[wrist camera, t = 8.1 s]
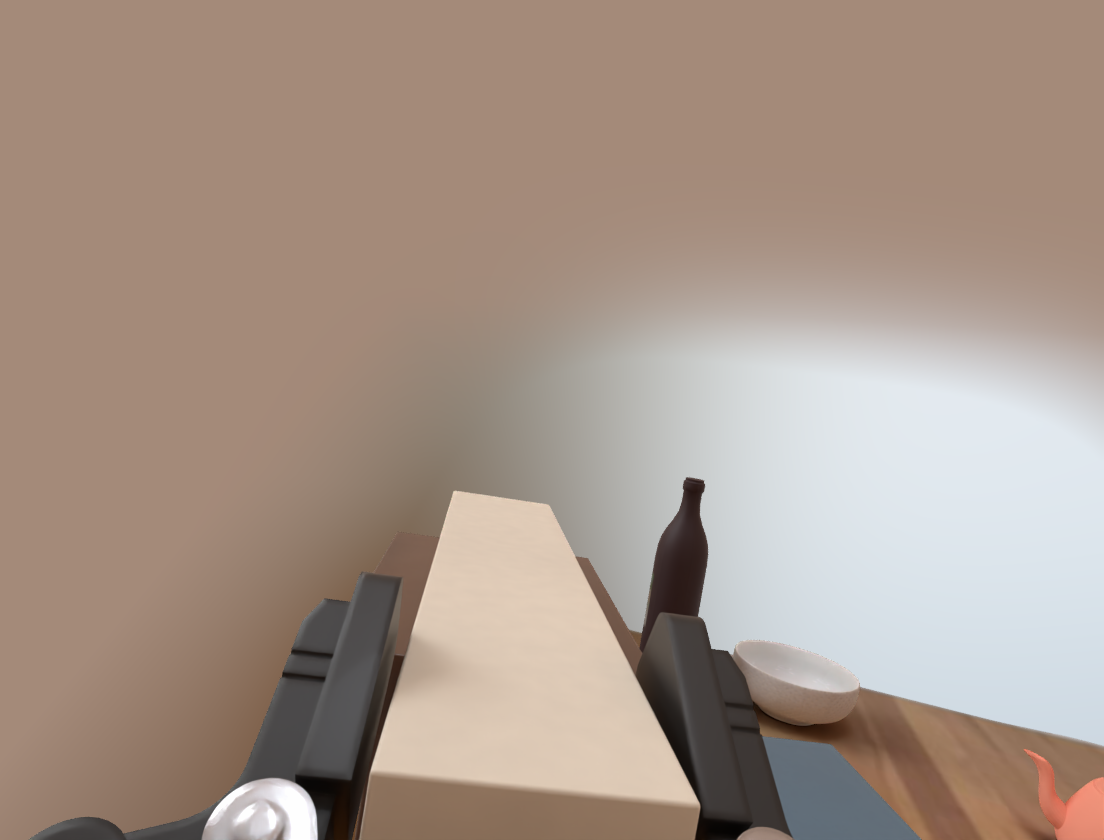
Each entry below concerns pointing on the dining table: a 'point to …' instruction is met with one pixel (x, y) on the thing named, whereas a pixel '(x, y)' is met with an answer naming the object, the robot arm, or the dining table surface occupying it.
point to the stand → (413, 564)
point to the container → (829, 795)
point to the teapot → (1071, 806)
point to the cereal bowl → (796, 683)
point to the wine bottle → (679, 562)
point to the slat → (519, 701)
